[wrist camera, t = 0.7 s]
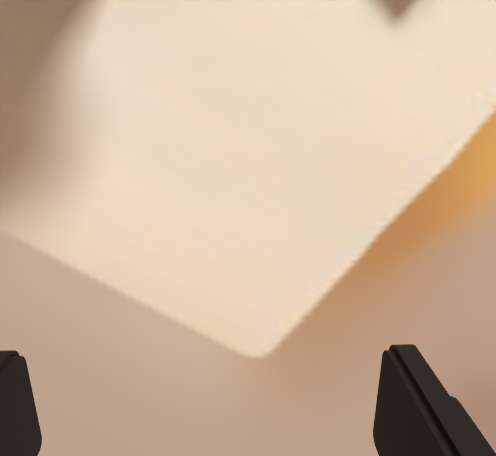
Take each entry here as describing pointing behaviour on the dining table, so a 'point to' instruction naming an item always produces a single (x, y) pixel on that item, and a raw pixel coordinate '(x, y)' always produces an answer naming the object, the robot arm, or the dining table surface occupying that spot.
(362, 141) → the dining table surface
